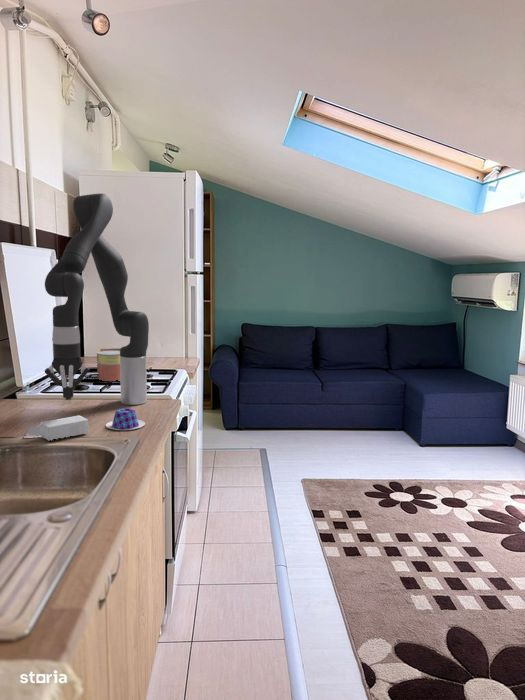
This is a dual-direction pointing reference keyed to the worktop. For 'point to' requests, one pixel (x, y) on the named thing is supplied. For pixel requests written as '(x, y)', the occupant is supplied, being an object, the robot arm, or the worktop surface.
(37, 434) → the mat
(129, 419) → the pudding
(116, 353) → the canned food
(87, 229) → the robot arm
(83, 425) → the skincare box
